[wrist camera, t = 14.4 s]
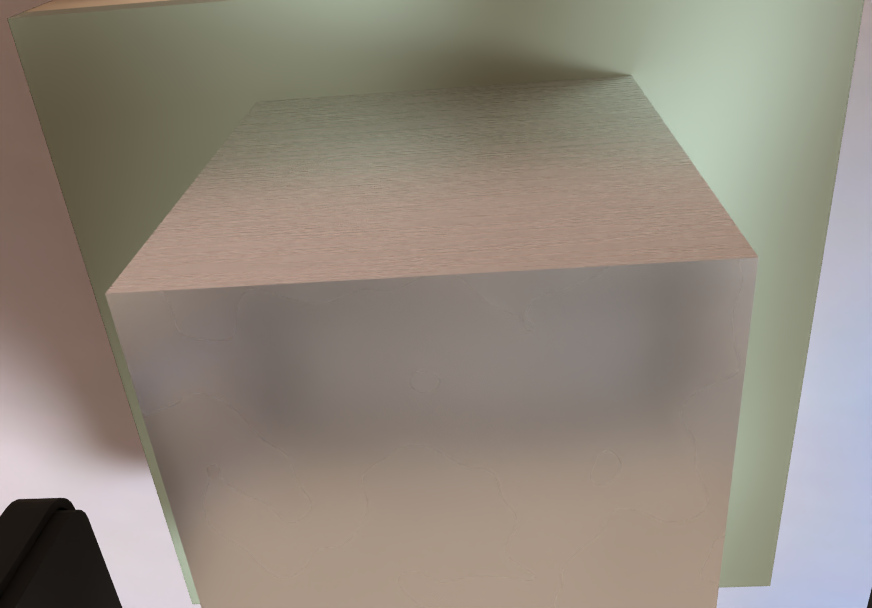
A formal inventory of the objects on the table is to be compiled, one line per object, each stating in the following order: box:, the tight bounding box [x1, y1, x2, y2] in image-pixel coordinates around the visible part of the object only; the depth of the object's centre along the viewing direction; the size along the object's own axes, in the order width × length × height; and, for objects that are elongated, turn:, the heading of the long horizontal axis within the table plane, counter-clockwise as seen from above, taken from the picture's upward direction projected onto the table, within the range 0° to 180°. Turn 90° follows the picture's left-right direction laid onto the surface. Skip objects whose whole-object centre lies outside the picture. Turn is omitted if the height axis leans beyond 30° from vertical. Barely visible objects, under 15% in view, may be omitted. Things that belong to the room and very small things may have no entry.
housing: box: [105, 75, 759, 608], centre depth 12 cm, size 9×6×6 cm, turn 4°
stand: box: [7, 0, 864, 604], centre depth 16 cm, size 12×12×4 cm
